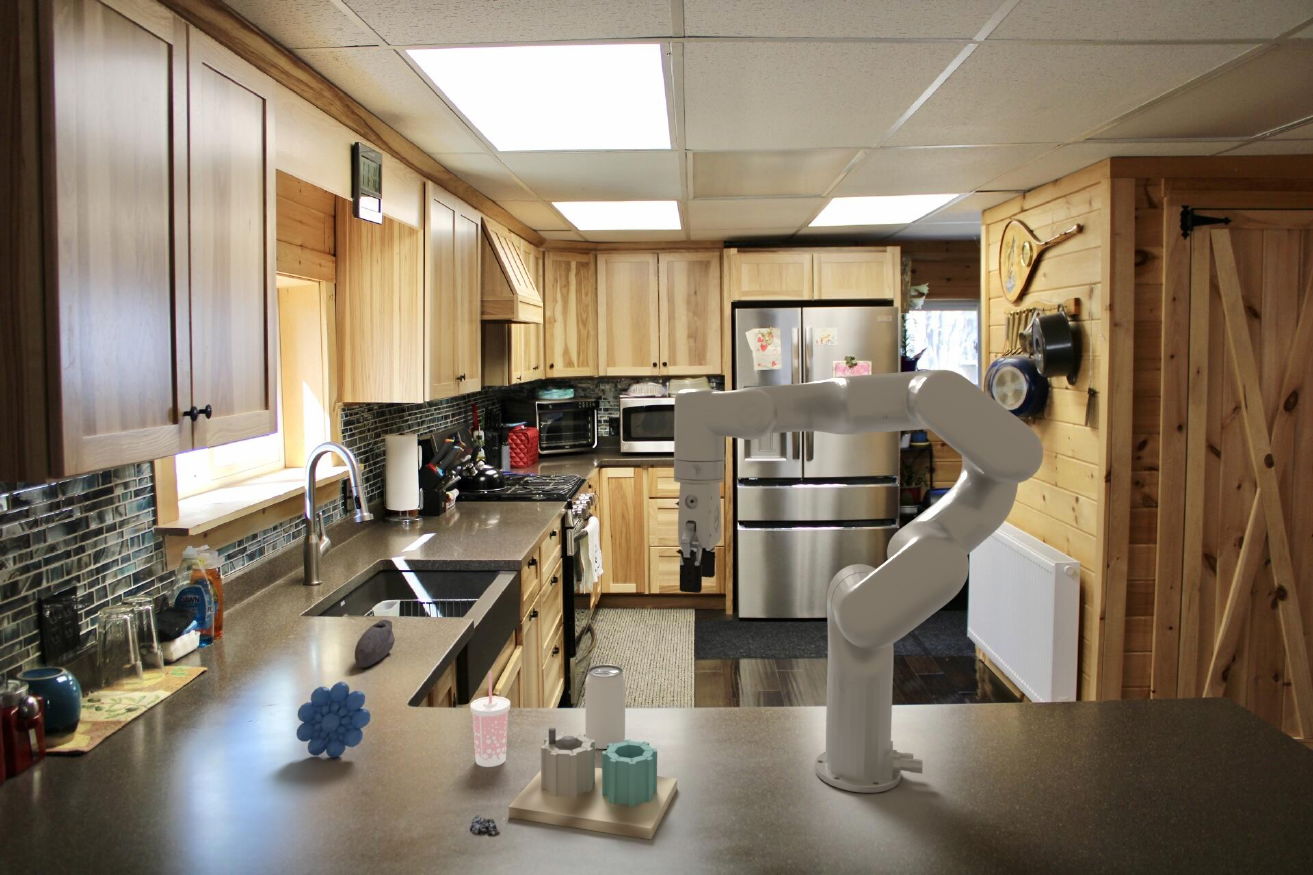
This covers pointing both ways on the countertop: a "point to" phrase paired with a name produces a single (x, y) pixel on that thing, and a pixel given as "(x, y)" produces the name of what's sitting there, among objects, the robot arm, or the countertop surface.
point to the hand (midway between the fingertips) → (697, 583)
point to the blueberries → (483, 826)
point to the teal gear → (629, 772)
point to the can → (605, 705)
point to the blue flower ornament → (332, 720)
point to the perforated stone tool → (374, 644)
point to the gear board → (594, 809)
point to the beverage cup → (490, 728)
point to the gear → (567, 764)
